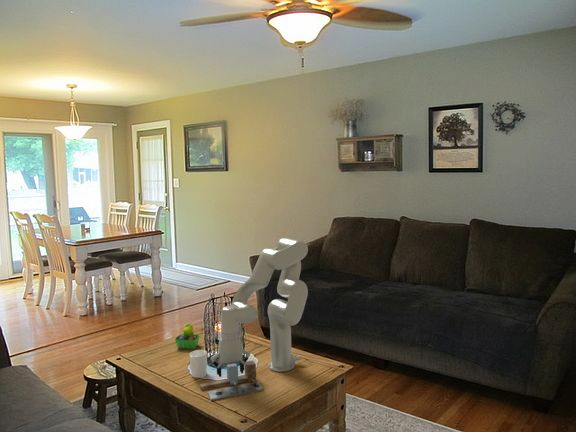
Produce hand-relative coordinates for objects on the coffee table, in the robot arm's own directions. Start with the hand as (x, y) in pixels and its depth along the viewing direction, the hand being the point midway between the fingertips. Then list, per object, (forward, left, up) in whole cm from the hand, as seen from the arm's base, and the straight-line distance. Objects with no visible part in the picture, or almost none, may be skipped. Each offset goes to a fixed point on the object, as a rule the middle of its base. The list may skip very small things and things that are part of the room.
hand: (230, 374), depth 205 cm
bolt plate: (0, +8, -4) cm, 9 cm away
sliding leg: (-1, +1, -4) cm, 4 cm away
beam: (+1, +1, -4) cm, 4 cm away
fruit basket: (+10, -50, -5) cm, 51 cm away
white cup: (+11, -14, -5) cm, 19 cm away
